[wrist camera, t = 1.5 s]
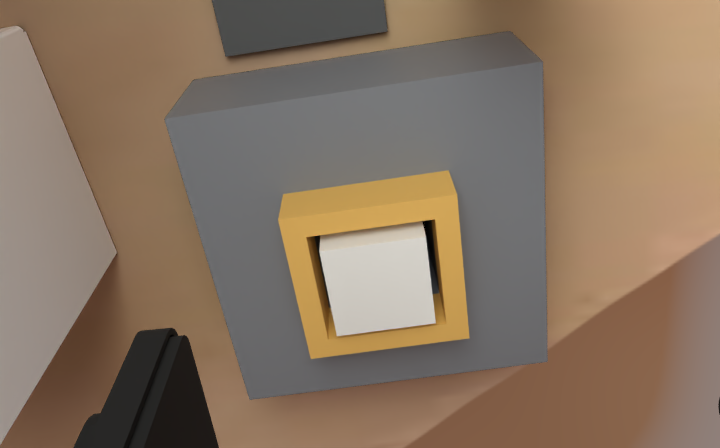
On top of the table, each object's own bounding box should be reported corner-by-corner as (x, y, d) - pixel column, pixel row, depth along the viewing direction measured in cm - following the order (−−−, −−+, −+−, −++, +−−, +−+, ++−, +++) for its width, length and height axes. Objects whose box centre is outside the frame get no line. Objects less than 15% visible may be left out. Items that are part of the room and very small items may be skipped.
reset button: (323, 190, 33) (319, 251, 27) (412, 178, 32) (425, 236, 27) (338, 266, 35) (337, 336, 29) (421, 254, 34) (435, 323, 29)
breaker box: (193, 79, 33) (148, 139, 25) (510, 30, 32) (560, 78, 25) (262, 331, 40) (243, 434, 33) (520, 296, 40) (561, 395, 32)
